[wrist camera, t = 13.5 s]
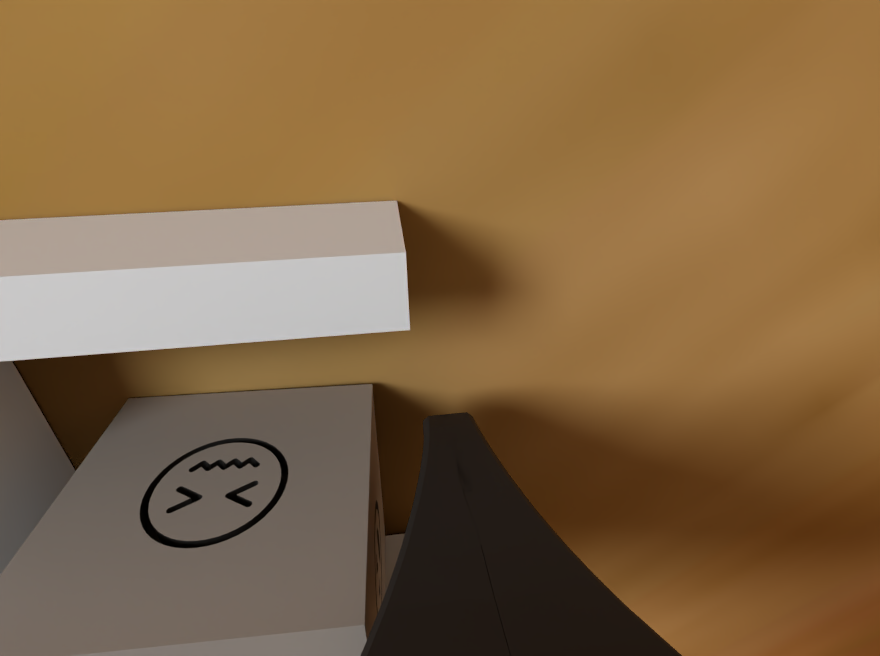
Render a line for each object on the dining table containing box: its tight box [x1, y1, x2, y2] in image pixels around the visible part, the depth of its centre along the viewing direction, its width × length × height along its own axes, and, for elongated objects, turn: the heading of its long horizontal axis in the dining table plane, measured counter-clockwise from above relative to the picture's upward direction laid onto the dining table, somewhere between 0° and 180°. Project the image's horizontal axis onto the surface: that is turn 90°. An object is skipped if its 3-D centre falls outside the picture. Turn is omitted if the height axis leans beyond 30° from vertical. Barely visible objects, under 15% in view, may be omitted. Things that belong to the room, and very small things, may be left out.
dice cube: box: [0, 384, 385, 656], centre depth 9 cm, size 5×5×5 cm
